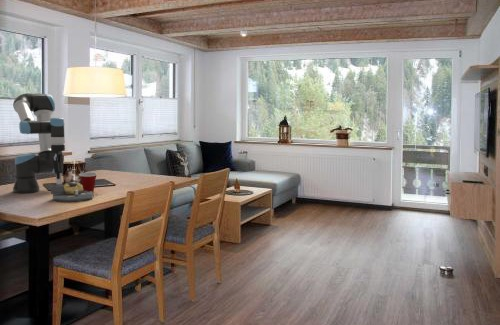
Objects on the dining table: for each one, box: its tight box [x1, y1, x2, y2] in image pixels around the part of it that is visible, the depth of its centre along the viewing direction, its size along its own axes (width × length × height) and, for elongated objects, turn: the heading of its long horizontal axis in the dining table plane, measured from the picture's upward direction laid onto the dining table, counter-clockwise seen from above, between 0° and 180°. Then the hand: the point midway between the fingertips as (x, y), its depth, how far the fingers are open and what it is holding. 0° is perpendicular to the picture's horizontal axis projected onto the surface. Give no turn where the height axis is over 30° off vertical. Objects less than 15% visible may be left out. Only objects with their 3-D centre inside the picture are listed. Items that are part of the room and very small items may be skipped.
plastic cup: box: [78, 171, 98, 193], centre depth 293 cm, size 11×11×12 cm
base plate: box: [52, 190, 94, 203], centre depth 274 cm, size 22×22×6 cm
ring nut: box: [50, 181, 83, 195], centre depth 272 cm, size 18×11×6 cm, turn 114°
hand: (59, 184), depth 276 cm, fingers closed
